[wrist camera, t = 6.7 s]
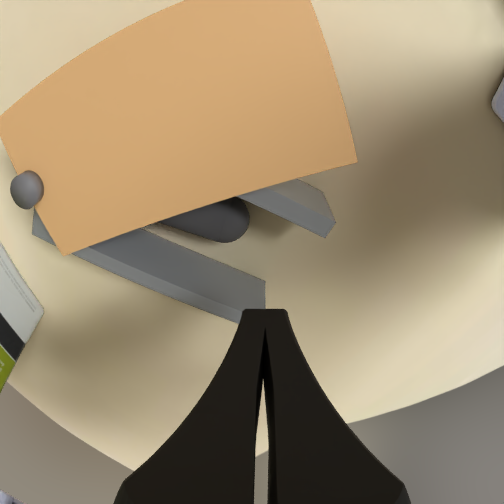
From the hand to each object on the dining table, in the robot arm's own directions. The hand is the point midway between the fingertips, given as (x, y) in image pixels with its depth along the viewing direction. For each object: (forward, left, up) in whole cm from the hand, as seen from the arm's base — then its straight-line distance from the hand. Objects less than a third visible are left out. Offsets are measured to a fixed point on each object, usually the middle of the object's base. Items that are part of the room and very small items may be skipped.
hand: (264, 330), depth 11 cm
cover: (+6, -4, -3) cm, 8 cm away
